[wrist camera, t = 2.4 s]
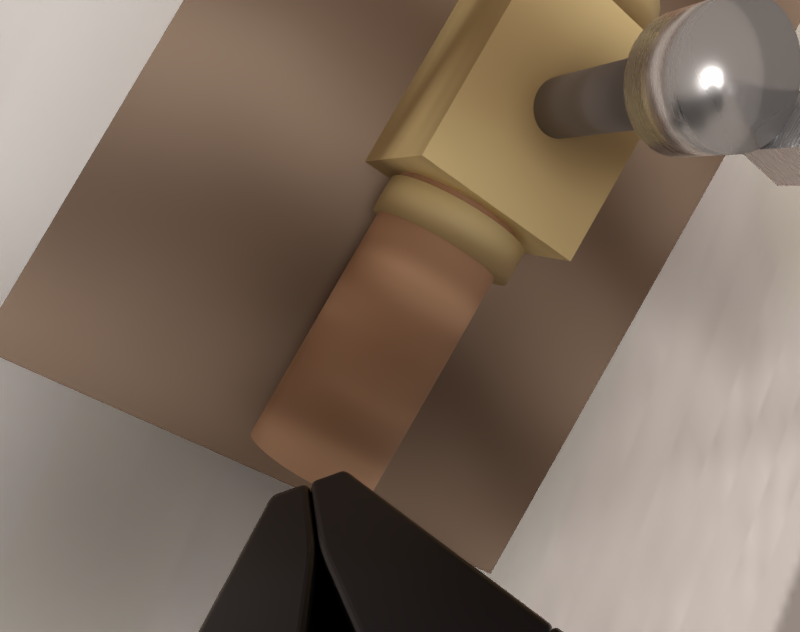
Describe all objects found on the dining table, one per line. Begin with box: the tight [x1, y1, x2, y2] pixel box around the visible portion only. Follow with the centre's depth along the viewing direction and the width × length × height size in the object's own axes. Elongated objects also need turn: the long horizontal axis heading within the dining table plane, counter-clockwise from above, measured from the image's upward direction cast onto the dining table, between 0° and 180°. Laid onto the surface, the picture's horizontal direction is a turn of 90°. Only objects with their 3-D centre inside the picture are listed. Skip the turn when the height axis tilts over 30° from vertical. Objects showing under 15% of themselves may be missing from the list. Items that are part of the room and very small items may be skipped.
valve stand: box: [0, 0, 800, 573], centre depth 15 cm, size 20×14×8 cm
